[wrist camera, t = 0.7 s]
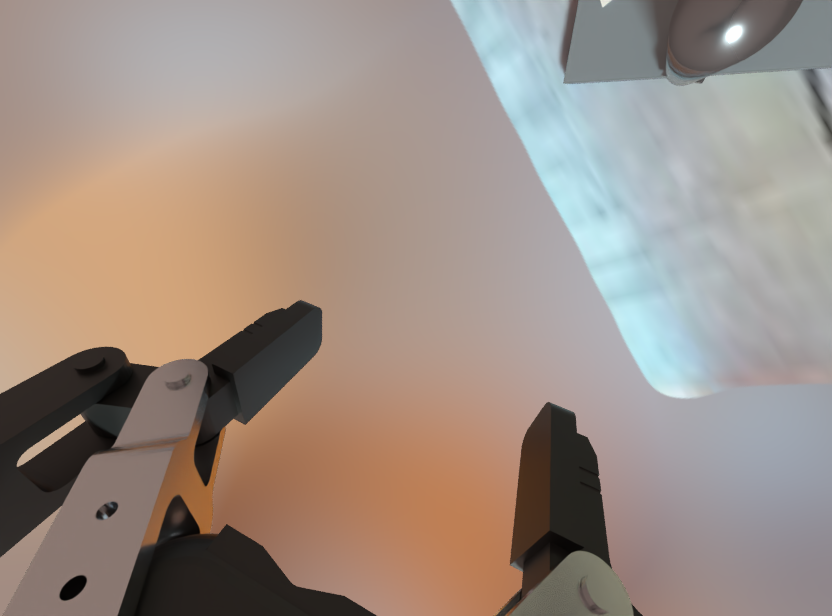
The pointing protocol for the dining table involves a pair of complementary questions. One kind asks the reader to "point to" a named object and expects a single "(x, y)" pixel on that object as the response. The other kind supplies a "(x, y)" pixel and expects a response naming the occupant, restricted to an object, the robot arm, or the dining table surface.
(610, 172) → the dining table surface
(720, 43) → the brass hub with handle
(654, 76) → the base plate
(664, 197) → the dining table surface
